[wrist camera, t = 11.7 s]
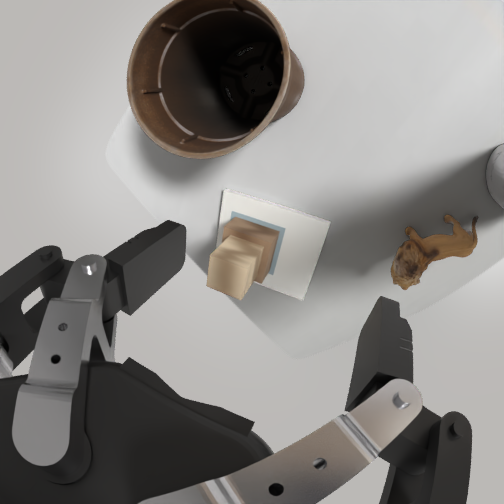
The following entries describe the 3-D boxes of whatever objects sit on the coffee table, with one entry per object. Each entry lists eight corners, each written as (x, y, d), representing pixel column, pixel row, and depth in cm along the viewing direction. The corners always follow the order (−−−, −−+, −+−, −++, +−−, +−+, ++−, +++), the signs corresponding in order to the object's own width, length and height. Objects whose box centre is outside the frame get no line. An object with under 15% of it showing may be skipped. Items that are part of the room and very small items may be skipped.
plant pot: (243, 159, 39) (178, 191, 26) (186, 73, 35) (104, 70, 22) (344, 101, 31) (332, 92, 17) (274, 7, 27) (219, -41, 14)
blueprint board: (330, 221, 39) (330, 224, 38) (304, 297, 46) (302, 301, 45) (226, 188, 42) (223, 190, 41) (216, 264, 50) (213, 267, 49)
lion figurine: (394, 266, 38) (398, 304, 31) (381, 236, 37) (384, 268, 30) (480, 230, 30) (503, 261, 23) (471, 196, 29) (496, 221, 22)
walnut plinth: (279, 231, 41) (271, 243, 38) (270, 269, 45) (261, 283, 42) (235, 216, 43) (223, 226, 40) (229, 255, 47) (218, 267, 43)
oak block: (264, 246, 39) (247, 269, 34) (257, 275, 41) (241, 300, 36) (230, 234, 40) (209, 254, 35) (225, 263, 42) (206, 286, 38)
